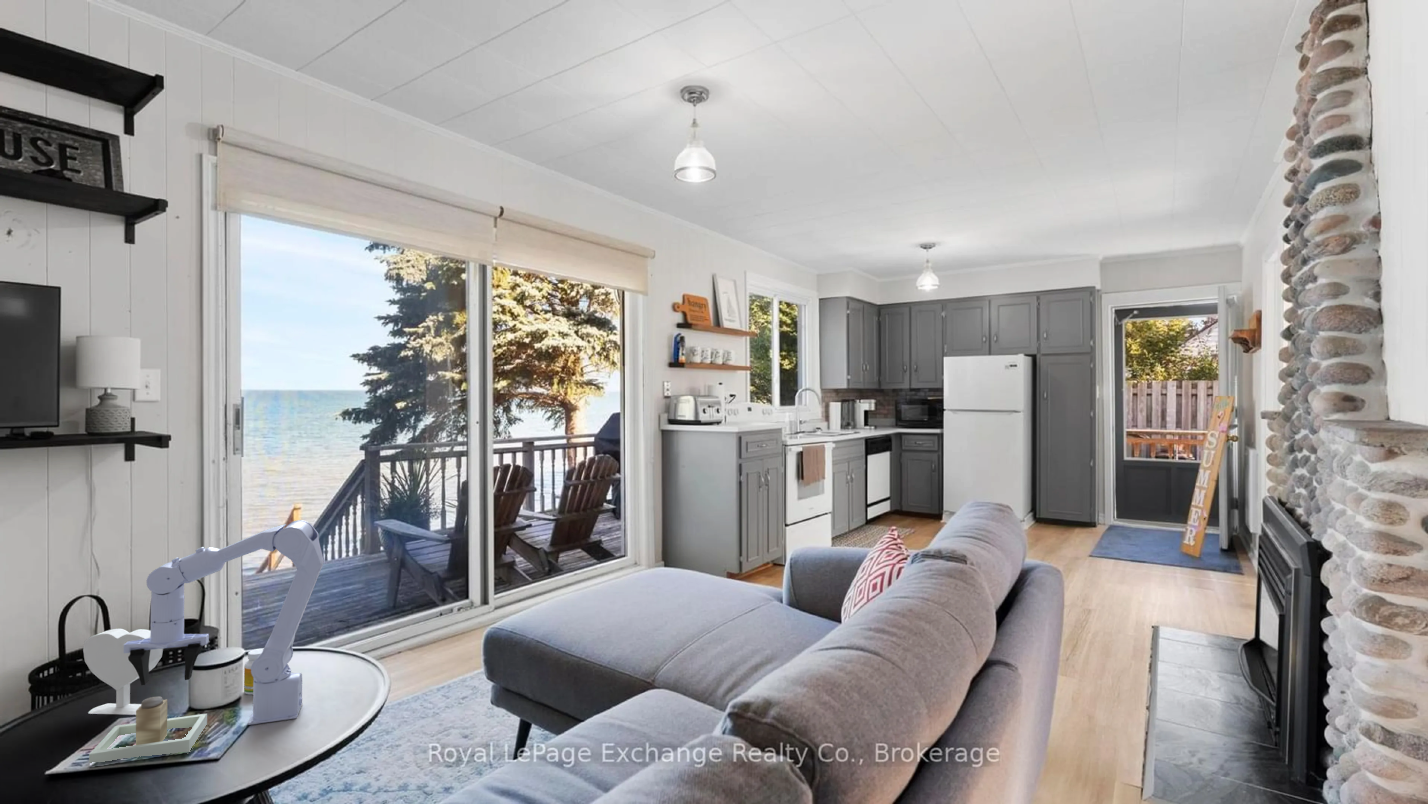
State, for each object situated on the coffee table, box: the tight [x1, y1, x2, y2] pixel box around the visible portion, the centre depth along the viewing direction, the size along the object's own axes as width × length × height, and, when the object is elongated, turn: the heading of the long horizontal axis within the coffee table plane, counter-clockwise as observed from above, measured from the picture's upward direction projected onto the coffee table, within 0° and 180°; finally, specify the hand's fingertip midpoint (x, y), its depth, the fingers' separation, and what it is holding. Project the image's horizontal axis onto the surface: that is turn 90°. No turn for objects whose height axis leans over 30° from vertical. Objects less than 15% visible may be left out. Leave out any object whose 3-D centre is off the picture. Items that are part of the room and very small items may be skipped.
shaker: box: [135, 696, 168, 745], centre depth 140 cm, size 4×4×9 cm
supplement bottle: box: [243, 648, 264, 695], centre depth 167 cm, size 5×5×10 cm
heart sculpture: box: [82, 628, 164, 716], centre depth 156 cm, size 16×5×18 cm, turn 90°
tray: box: [88, 713, 208, 764], centre depth 140 cm, size 16×12×3 cm
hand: (166, 680), depth 148 cm, fingers open, 7 cm apart
